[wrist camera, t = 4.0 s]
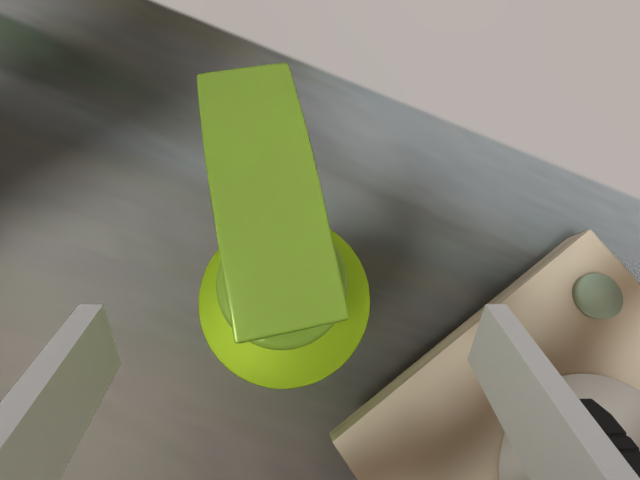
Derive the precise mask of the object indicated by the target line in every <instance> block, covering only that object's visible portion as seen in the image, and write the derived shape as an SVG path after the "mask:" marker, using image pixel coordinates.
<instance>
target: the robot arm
mask: <svg viewBox="0 0 640 480" xmlns="http://www.w3.org/2000/svg"><path fill="white" fill-rule="evenodd" d="M467 360H468V362H469V364H470V366H471V368H472V370H473V372H474V374H475V375H476V377H477V379H478V381H479V383H480V385H481V387H482V389H483V391H484V393H485V395H486V397H487V399H488V401H489V402H490V404H491V406H492V408H493V410H494V412H495V414H496V416H497V418H498V420H499V422H500V424H501V426H502V428H503V429H504V431H505V433H506V435H507V437H508V439H509V441H510V443H511V445H512V447H513V449H514V451H515V453H516V455H517V456H518V458H519V460H520V462H521V464H522V466H523V468H524V470H525V472H526V474H527V476H528V478H529V480H640V451H639V447H638V446H637V445H636V444H635V443H634V441H633V440H632V439H631V438H630V437H628V436H627V435H626V432H625V430H624V429H623V428H622V427H621V425H620V424H619V423H618V422H617V421H616V419H615V418H614V417H613V416H612V415H611V414H610V413H609V412H608V411H607V410H605V409H604V408H603V407H602V406H600V405H599V404H598V403H597V402H595V401H594V400H593V399H592V398H590V399H579V398H578V397H577V396H576V394H575V393H574V392H573V391H572V389H571V388H570V387H569V385H568V384H567V383H566V381H565V380H564V379H563V377H562V376H561V375H560V374H559V372H558V371H557V370H556V368H555V367H554V366H553V364H552V363H551V362H550V361H549V359H548V358H547V357H546V355H545V354H544V353H543V351H542V350H541V349H540V347H539V346H538V345H537V344H536V342H535V341H534V340H533V338H532V337H531V336H530V334H529V333H528V332H527V331H526V329H525V328H524V327H523V325H522V324H521V323H520V321H519V320H518V319H517V317H516V316H515V315H514V314H513V312H512V311H511V310H510V308H509V307H508V306H507V304H485V307H484V310H483V313H482V316H481V319H480V322H479V325H478V328H477V332H476V335H475V338H474V341H473V344H472V347H471V350H470V353H469V356H468V359H467ZM120 365H121V361H120V358H119V355H118V351H117V348H116V345H115V342H114V338H113V335H112V332H111V329H110V325H109V322H108V319H107V316H106V312H105V309H104V306H103V304H79V305H78V306H77V308H76V309H75V310H74V311H73V313H72V314H71V315H70V316H69V318H68V319H67V320H66V321H65V323H64V324H63V325H62V326H61V328H60V329H59V330H58V331H57V333H56V334H55V335H54V336H53V338H52V339H51V340H50V341H49V343H48V344H47V345H46V346H45V348H44V349H43V350H42V351H41V353H40V354H39V355H38V356H37V358H36V359H35V360H34V361H33V363H32V364H31V365H30V366H29V368H28V369H27V370H26V371H25V373H24V374H23V375H22V376H21V378H20V379H19V380H18V381H17V383H16V384H15V385H14V386H13V388H12V389H11V390H10V391H9V393H8V394H7V395H6V396H5V398H4V399H3V400H2V401H1V403H0V480H60V478H61V476H62V474H63V472H64V470H65V468H66V466H67V464H68V463H69V461H70V459H71V457H72V455H73V453H74V451H75V449H76V448H77V446H78V444H79V442H80V440H81V438H82V436H83V434H84V432H85V431H86V429H87V427H88V425H89V423H90V421H91V419H92V417H93V415H94V414H95V412H96V410H97V408H98V406H99V404H100V402H101V400H102V399H103V397H104V395H105V393H106V391H107V389H108V387H109V385H110V383H111V382H112V380H113V378H114V376H115V374H116V372H117V370H118V368H119V367H120Z"/></svg>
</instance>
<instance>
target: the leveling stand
mask: <svg viewBox="0 0 640 480" xmlns="http://www.w3.org/2000/svg"><path fill="white" fill-rule="evenodd" d="M487 304H507V306H508V307H509V308H510V310H511V311H512V312H513V314H514V315H515V316H516V317H517V319H518V320H519V321H520V323H521V324H522V325H523V327H524V328H525V329H526V331H527V332H528V333H529V334H530V336H531V337H532V338H533V340H534V341H535V342H536V344H537V345H538V346H539V347H540V349H541V350H542V351H543V353H544V354H545V355H546V357H547V358H548V359H549V361H550V362H551V363H552V364H553V366H554V367H555V368H556V370H557V371H558V372H559V374H560V375H561V376H562V377H563V379H564V380H565V381H566V383H567V384H568V385H569V387H570V388H571V389H572V391H573V392H574V393H575V394H576V396H577V397H578V398H579V399H590V398H592V399H593V400H594V401H595V402H597V403H598V404H599V405H600V406H602V407H603V408H604V409H605V410H607V411H608V412H609V413H610V414H611V415H612V416H613V417H614V418H615V419H616V421H617V422H618V423H619V424H620V425H621V427H622V428H623V429H624V430H625V432H626V435H627V436H628V437H630V438H631V439H632V440H633V441H634V443H635V444H636V445H637V446H638V447H639V451H640V283H639V282H638V281H637V280H636V279H635V278H634V277H633V276H632V275H631V273H630V272H629V271H628V270H627V269H626V268H625V267H624V266H623V265H622V264H621V262H620V261H619V260H618V259H617V258H616V257H615V256H614V255H613V254H612V253H611V251H610V250H609V249H608V248H607V247H606V246H605V245H604V244H603V243H602V242H601V240H600V239H599V238H598V237H597V236H596V235H595V234H594V233H593V232H592V230H591V229H589V230H587V231H584V232H582V233H579V234H577V235H574V236H571V237H569V238H567V239H566V240H564V241H563V242H562V243H561V244H560V245H558V246H557V247H556V248H555V249H553V250H552V251H551V252H550V253H549V254H547V255H546V256H545V257H544V258H542V259H541V260H540V261H539V262H538V263H536V264H535V265H534V266H533V267H531V268H530V269H529V270H528V271H527V272H525V273H524V274H523V275H522V276H520V277H519V278H518V279H517V280H516V281H514V282H513V283H512V284H511V285H509V286H508V287H507V288H506V289H504V290H503V291H502V292H501V293H500V294H498V295H497V296H496V297H495V298H493V299H492V300H491V301H490V302H489V303H487ZM484 307H485V306H484ZM484 307H482V308H481V309H480V310H479V311H478V312H476V313H475V314H474V315H473V316H471V317H470V318H469V319H468V320H467V321H465V322H464V323H463V324H462V325H460V326H459V327H458V328H457V329H456V330H454V331H453V332H452V333H451V334H449V335H448V336H447V337H446V338H445V339H443V340H442V341H441V342H440V343H438V344H437V345H436V346H435V347H433V348H432V349H431V350H430V351H429V352H427V353H426V354H425V355H424V356H422V357H421V358H420V359H419V360H418V361H416V362H415V363H414V364H413V365H411V366H410V367H409V368H408V369H407V370H405V371H404V372H403V373H402V374H400V375H399V376H398V377H397V378H396V379H394V380H393V381H392V382H391V383H389V384H388V385H387V386H386V387H385V388H383V389H382V390H381V391H380V392H378V393H377V394H376V395H375V396H374V397H372V398H371V399H370V400H369V401H367V402H366V403H365V404H364V405H362V406H361V407H360V408H359V409H358V410H356V411H355V412H354V413H353V414H351V415H350V416H349V417H348V418H347V419H345V420H344V421H343V422H342V423H340V424H339V425H338V426H337V427H336V428H334V429H333V430H332V431H331V432H329V435H330V437H331V440H332V442H333V444H334V445H335V447H336V448H337V450H338V451H339V453H340V454H341V456H342V457H343V459H344V460H345V462H346V463H347V465H348V466H349V468H350V470H351V471H352V473H353V474H354V476H355V477H356V479H357V480H529V478H528V476H527V474H526V472H525V470H524V468H523V466H522V464H521V462H520V460H519V458H518V456H517V455H516V453H515V451H514V449H513V447H512V445H511V443H510V441H509V439H508V437H507V435H506V433H505V431H504V429H503V428H502V426H501V424H500V422H499V420H498V418H497V416H496V414H495V412H494V410H493V408H492V406H491V404H490V402H489V401H488V399H487V397H486V395H485V393H484V391H483V389H482V387H481V385H480V383H479V381H478V379H477V377H476V375H475V374H474V372H473V370H472V368H471V366H470V364H469V362H468V360H467V359H468V356H469V353H470V350H471V347H472V344H473V341H474V338H475V335H476V332H477V328H478V325H479V322H480V319H481V316H482V313H483V310H484Z"/></svg>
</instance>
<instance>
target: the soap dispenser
mask: <svg viewBox="0 0 640 480" xmlns="http://www.w3.org/2000/svg"><path fill="white" fill-rule="evenodd" d="M197 89H198V99H199V110H200V119H201V129H202V137H203V146H204V153H205V161H206V168H207V175H208V182H209V189H210V195H211V202H212V209H213V215H214V221H215V228H216V234H217V240H218V246H219V249H218V250H217V251H216V253H215V254H214V256H213V257H212V259H211V260H210V262H209V264H208V266H207V268H206V270H205V273H204V276H203V279H202V282H201V286H200V292H199V317H200V323H201V327H202V330H203V333H204V336H205V338H206V340H207V342H208V344H209V346H210V348H211V350H212V351H213V353H214V354H215V355H216V357H217V358H218V359H219V360H220V361H221V363H222V364H223V365H224V366H225V367H227V368H228V369H229V370H230V371H231V372H233V373H234V374H236V375H237V376H239V377H240V378H242V379H244V380H246V381H248V382H250V383H253V384H256V385H259V386H263V387H267V388H275V389H291V388H298V387H303V386H307V385H310V384H313V383H315V382H318V381H320V380H322V379H324V378H326V377H327V376H329V375H331V374H332V373H333V372H335V371H336V370H337V369H339V368H340V367H341V366H342V365H343V364H344V363H345V362H346V361H347V360H348V359H349V358H350V356H351V355H352V354H353V352H354V351H355V350H356V348H357V346H358V345H359V343H360V341H361V339H362V337H363V334H364V332H365V329H366V326H367V322H368V318H369V311H370V292H369V285H368V281H367V277H366V274H365V271H364V269H363V266H362V264H361V262H360V260H359V259H358V257H357V255H356V254H355V252H354V251H353V250H352V248H351V247H350V246H349V245H348V244H347V243H346V242H345V241H344V240H343V239H342V238H341V237H340V236H339V235H337V234H336V233H335V232H333V231H332V230H330V225H329V221H328V216H327V212H326V207H325V203H324V198H323V194H322V190H321V185H320V181H319V177H318V172H317V168H316V164H315V159H314V155H313V151H312V147H311V143H310V139H309V135H308V131H307V127H306V123H305V120H304V116H303V112H302V109H301V105H300V102H299V98H298V95H297V91H296V88H295V84H294V81H293V77H292V74H291V71H290V68H289V65H288V64H287V63H276V64H268V65H260V66H252V67H244V68H236V69H229V70H222V71H214V72H207V73H201V74H199V75H197Z"/></svg>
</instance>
